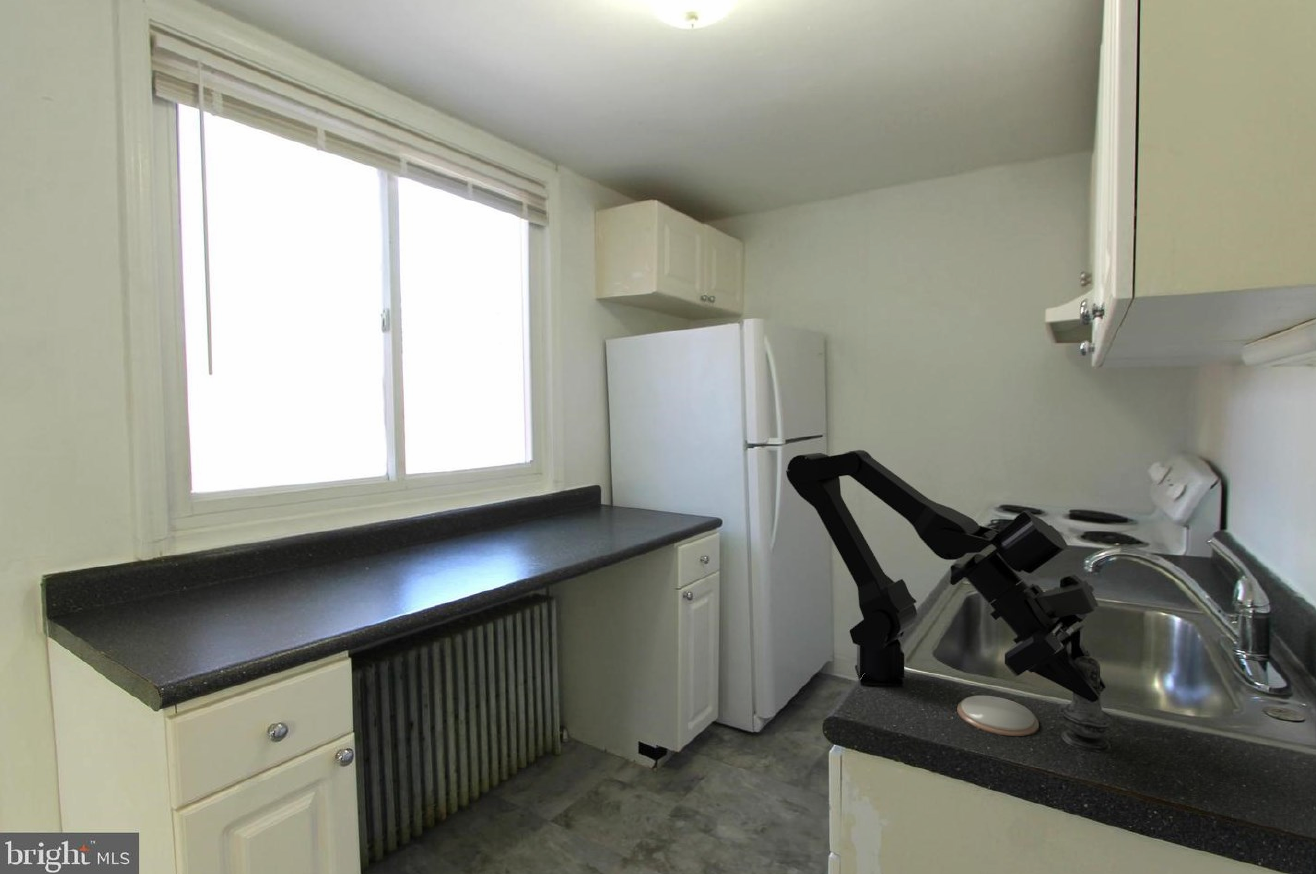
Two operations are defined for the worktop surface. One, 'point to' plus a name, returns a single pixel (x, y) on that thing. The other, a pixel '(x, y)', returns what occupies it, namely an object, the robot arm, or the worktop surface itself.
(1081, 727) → the dark chess piece
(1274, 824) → the worktop surface
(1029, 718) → the coaster
